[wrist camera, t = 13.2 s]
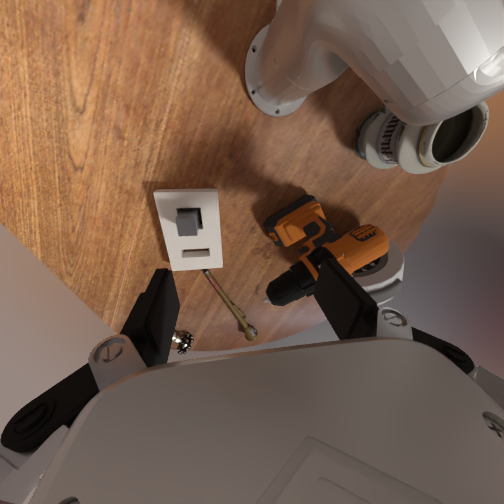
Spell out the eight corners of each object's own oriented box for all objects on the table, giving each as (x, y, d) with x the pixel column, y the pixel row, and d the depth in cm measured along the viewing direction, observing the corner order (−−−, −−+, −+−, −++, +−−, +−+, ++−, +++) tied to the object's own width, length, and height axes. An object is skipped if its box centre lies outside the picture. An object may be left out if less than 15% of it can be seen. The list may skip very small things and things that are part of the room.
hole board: (157, 189, 41) (153, 192, 39) (217, 188, 43) (217, 191, 40) (174, 264, 51) (172, 271, 49) (222, 261, 53) (222, 267, 51)
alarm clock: (369, 227, 55) (435, 266, 38) (369, 247, 59) (429, 291, 42) (300, 254, 56) (335, 303, 39) (305, 272, 60) (339, 324, 43)
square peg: (182, 206, 44) (175, 219, 37) (198, 206, 44) (195, 218, 38) (184, 222, 46) (178, 236, 39) (200, 221, 46) (197, 235, 40)
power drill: (254, 252, 53) (278, 327, 32) (241, 233, 50) (257, 303, 28) (324, 212, 50) (401, 265, 29) (314, 188, 46) (395, 229, 25)
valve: (153, 324, 62) (180, 340, 68) (147, 343, 56) (177, 358, 62) (168, 314, 61) (194, 331, 67) (163, 332, 55) (192, 349, 61)
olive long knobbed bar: (198, 270, 55) (212, 262, 55) (247, 336, 72) (258, 330, 72) (197, 279, 51) (213, 271, 51) (250, 347, 68) (261, 341, 68)
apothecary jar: (354, 104, 39) (442, 81, 23) (407, 100, 40) (525, 75, 24) (343, 168, 45) (407, 182, 30) (389, 163, 46) (474, 174, 31)
